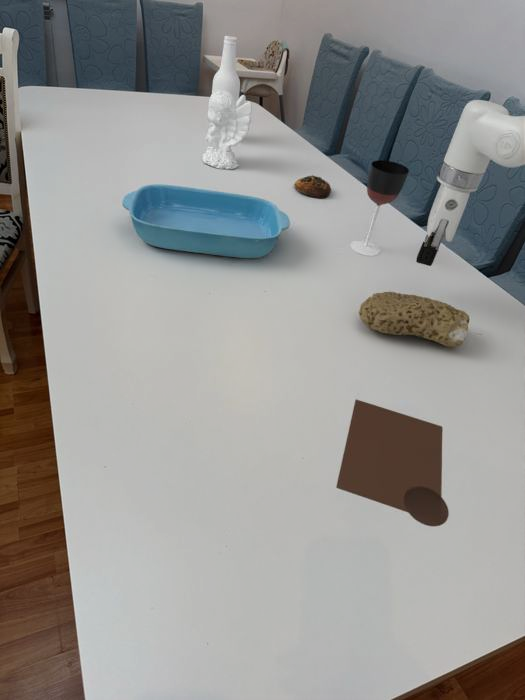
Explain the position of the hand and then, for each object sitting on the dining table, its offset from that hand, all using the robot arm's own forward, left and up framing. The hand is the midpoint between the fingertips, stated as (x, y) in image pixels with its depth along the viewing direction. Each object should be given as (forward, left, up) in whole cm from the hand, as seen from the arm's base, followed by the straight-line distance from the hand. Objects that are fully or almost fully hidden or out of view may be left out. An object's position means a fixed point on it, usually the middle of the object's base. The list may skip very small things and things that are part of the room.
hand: (423, 262), depth 103 cm
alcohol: (-4, -98, -8) cm, 99 cm away
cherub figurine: (+6, -78, -8) cm, 79 cm away
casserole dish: (+32, -35, -8) cm, 48 cm away
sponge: (+10, +10, -8) cm, 16 cm away
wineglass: (-4, -20, -8) cm, 22 cm away
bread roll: (-11, -53, -8) cm, 55 cm away
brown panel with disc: (+34, +32, -8) cm, 47 cm away
